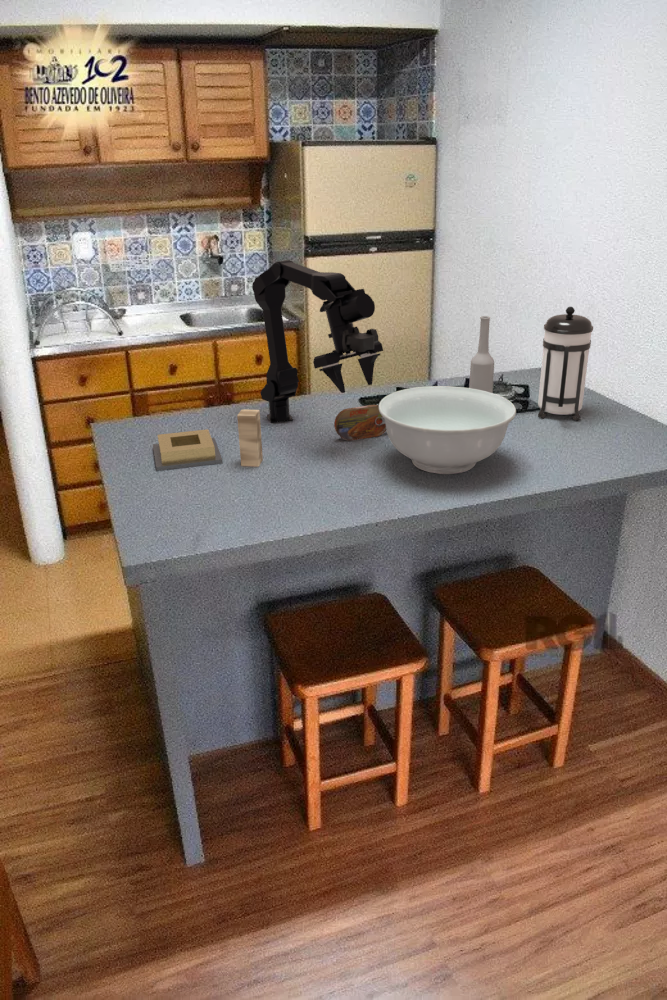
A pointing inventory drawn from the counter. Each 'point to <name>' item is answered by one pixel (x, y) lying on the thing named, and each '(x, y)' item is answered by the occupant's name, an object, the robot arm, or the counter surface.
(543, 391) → the coffee press
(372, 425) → the tin
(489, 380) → the bottle
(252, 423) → the pin
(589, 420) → the counter surface
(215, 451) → the socket
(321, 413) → the counter surface
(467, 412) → the bowl
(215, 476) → the counter surface
